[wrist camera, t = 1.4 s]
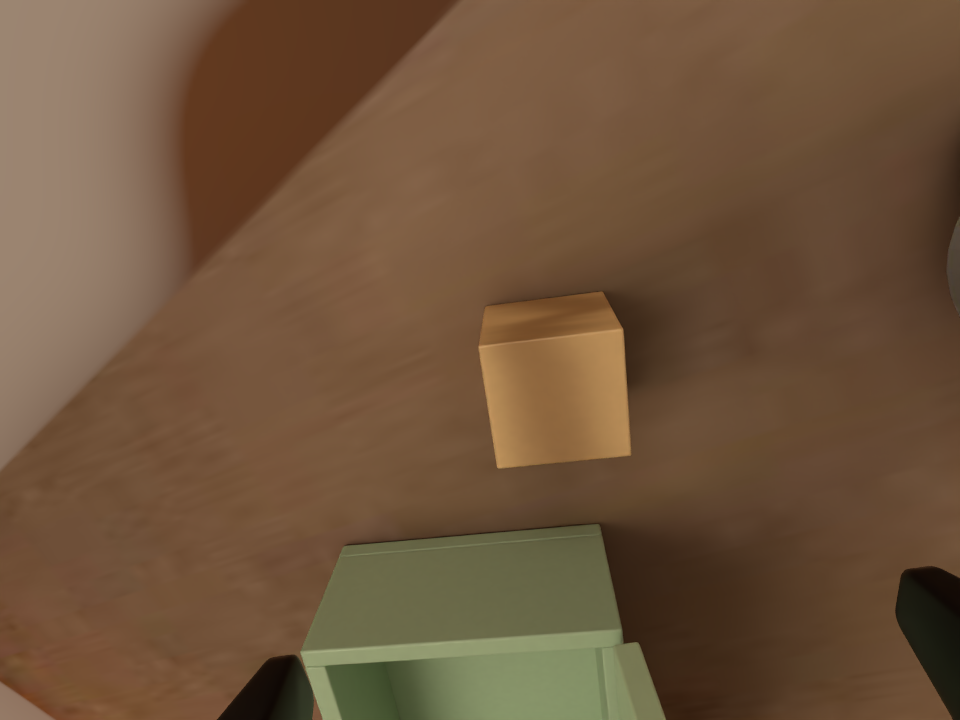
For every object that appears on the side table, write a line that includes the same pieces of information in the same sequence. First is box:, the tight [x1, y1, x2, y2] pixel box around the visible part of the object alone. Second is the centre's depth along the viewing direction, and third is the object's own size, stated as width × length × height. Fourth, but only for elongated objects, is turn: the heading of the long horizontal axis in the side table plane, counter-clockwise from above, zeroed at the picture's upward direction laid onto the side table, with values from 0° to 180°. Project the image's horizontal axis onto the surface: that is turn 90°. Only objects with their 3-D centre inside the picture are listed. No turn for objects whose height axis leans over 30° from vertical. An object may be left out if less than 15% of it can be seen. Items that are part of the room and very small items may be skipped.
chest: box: [301, 524, 624, 720], centre depth 23 cm, size 10×13×5 cm
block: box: [478, 291, 631, 469], centre depth 19 cm, size 4×4×4 cm
